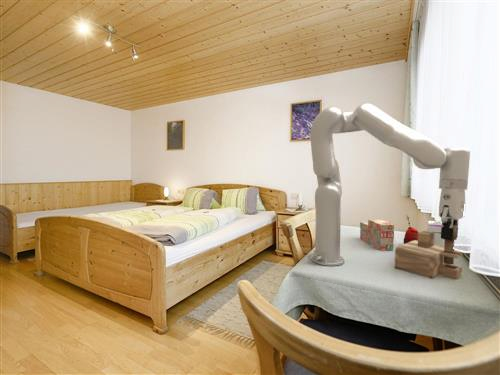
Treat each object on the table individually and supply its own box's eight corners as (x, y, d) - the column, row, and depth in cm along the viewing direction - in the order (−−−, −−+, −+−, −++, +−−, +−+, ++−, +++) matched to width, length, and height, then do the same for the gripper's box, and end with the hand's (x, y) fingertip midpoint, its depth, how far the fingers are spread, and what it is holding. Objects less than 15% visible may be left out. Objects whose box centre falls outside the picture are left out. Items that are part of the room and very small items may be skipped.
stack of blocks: (359, 239, 137) (360, 216, 136) (371, 238, 137) (371, 216, 136) (379, 251, 116) (380, 224, 115) (393, 251, 116) (394, 224, 115)
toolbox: (451, 283, 81) (451, 262, 81) (394, 268, 95) (395, 249, 94) (466, 272, 91) (467, 252, 90) (413, 259, 104) (413, 242, 104)
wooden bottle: (453, 265, 85) (454, 226, 85) (440, 262, 88) (441, 225, 88) (457, 263, 87) (458, 225, 87) (443, 260, 90) (444, 223, 90)
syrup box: (444, 259, 104) (446, 224, 103) (427, 257, 107) (428, 222, 106) (443, 255, 108) (444, 221, 108) (426, 253, 112) (427, 220, 111)
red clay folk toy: (422, 249, 117) (423, 217, 116) (404, 248, 120) (405, 216, 119) (418, 245, 124) (419, 214, 123) (402, 243, 127) (403, 213, 126)
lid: (451, 265, 81) (452, 243, 80) (396, 252, 94) (396, 233, 94) (467, 255, 90) (468, 235, 90) (414, 244, 104) (415, 227, 103)
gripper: (458, 185, 78) (454, 245, 80) (474, 184, 88) (470, 237, 89) (430, 184, 84) (426, 239, 86) (448, 183, 94) (444, 233, 95)
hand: (449, 237), depth 87 cm, fingers closed on wooden bottle, 3 cm apart
